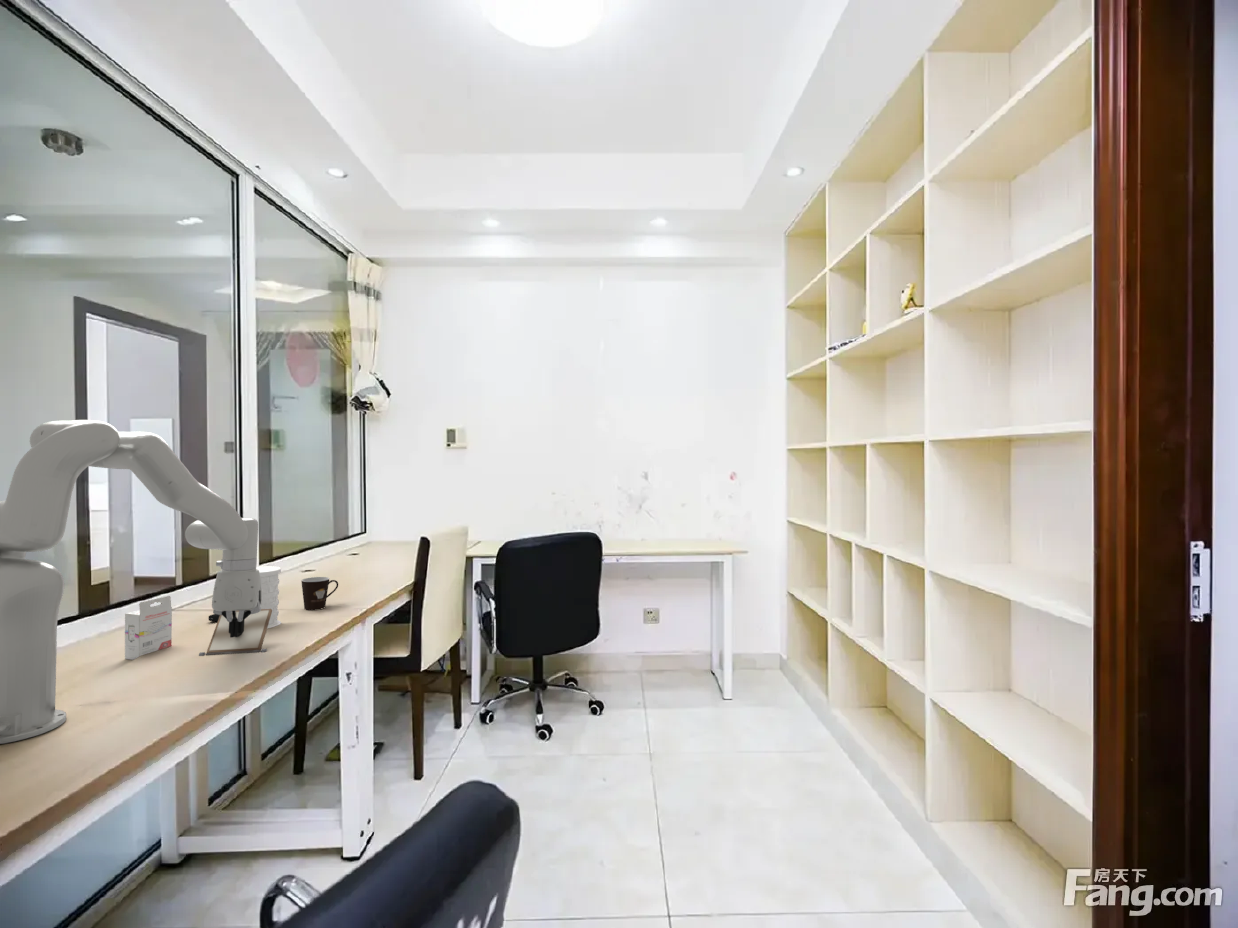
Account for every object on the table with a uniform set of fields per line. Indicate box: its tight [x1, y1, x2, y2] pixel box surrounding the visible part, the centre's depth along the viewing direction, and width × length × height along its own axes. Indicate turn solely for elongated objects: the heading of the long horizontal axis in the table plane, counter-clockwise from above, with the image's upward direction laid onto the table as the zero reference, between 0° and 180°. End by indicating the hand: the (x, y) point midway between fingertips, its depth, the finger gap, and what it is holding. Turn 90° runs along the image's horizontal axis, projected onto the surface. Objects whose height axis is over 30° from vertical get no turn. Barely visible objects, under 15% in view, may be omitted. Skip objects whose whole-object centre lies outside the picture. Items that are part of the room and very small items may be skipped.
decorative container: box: [256, 565, 282, 629], centre depth 171 cm, size 12×12×18 cm
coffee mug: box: [300, 576, 339, 611], centre depth 197 cm, size 12×9×10 cm
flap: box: [205, 609, 272, 656], centre depth 149 cm, size 13×12×1 cm
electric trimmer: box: [207, 613, 220, 622], centre depth 183 cm, size 4×16×3 cm, turn 169°
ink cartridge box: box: [124, 595, 173, 661], centre depth 147 cm, size 9×5×15 cm, turn 168°
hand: (236, 635), depth 147 cm, fingers closed
